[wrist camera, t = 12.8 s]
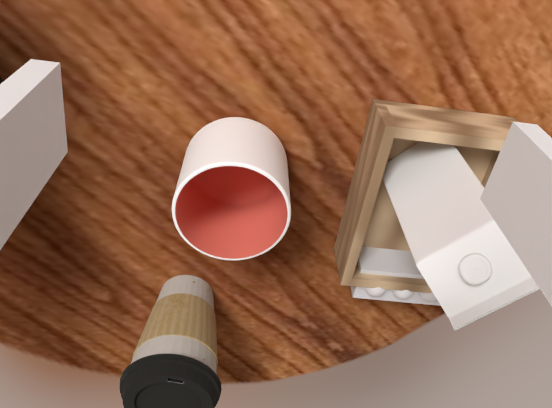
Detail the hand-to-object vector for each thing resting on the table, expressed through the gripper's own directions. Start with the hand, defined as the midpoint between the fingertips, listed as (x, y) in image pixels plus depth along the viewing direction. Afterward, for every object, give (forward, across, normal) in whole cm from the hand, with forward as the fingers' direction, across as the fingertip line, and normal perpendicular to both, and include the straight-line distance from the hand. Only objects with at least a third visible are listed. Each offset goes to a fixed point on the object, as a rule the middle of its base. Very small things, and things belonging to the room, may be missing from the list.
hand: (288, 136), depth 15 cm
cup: (+32, -1, -18) cm, 37 cm away
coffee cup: (+32, -5, -37) cm, 49 cm away
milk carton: (+31, +18, -16) cm, 39 cm away
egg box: (+31, +18, -28) cm, 46 cm away
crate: (+32, +18, -19) cm, 41 cm away
